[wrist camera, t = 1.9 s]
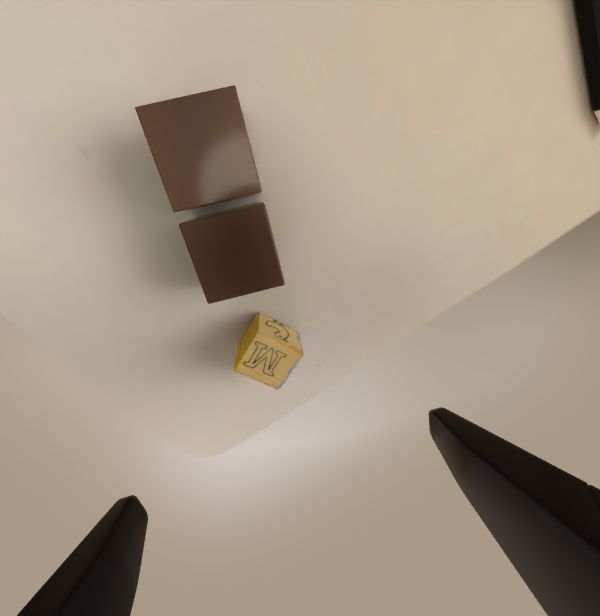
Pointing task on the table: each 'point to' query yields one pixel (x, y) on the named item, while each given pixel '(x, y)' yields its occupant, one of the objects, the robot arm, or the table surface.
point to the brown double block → (214, 190)
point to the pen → (591, 46)
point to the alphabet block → (268, 351)
